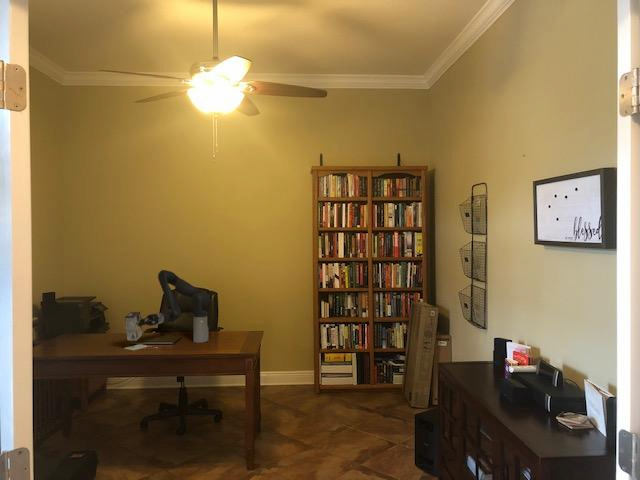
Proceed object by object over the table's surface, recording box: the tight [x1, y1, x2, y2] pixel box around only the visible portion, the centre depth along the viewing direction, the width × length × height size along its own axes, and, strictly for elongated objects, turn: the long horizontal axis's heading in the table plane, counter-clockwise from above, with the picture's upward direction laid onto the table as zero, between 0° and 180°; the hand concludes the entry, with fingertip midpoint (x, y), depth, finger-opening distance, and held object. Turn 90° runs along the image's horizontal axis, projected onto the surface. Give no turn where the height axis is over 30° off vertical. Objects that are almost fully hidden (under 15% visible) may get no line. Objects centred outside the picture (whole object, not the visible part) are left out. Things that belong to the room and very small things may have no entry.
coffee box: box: [124, 311, 143, 341], centre depth 296 cm, size 9×6×16 cm
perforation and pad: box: [124, 344, 158, 351], centre depth 297 cm, size 13×16×1 cm
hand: (134, 323), depth 298 cm, fingers closed on coffee box, 7 cm apart
